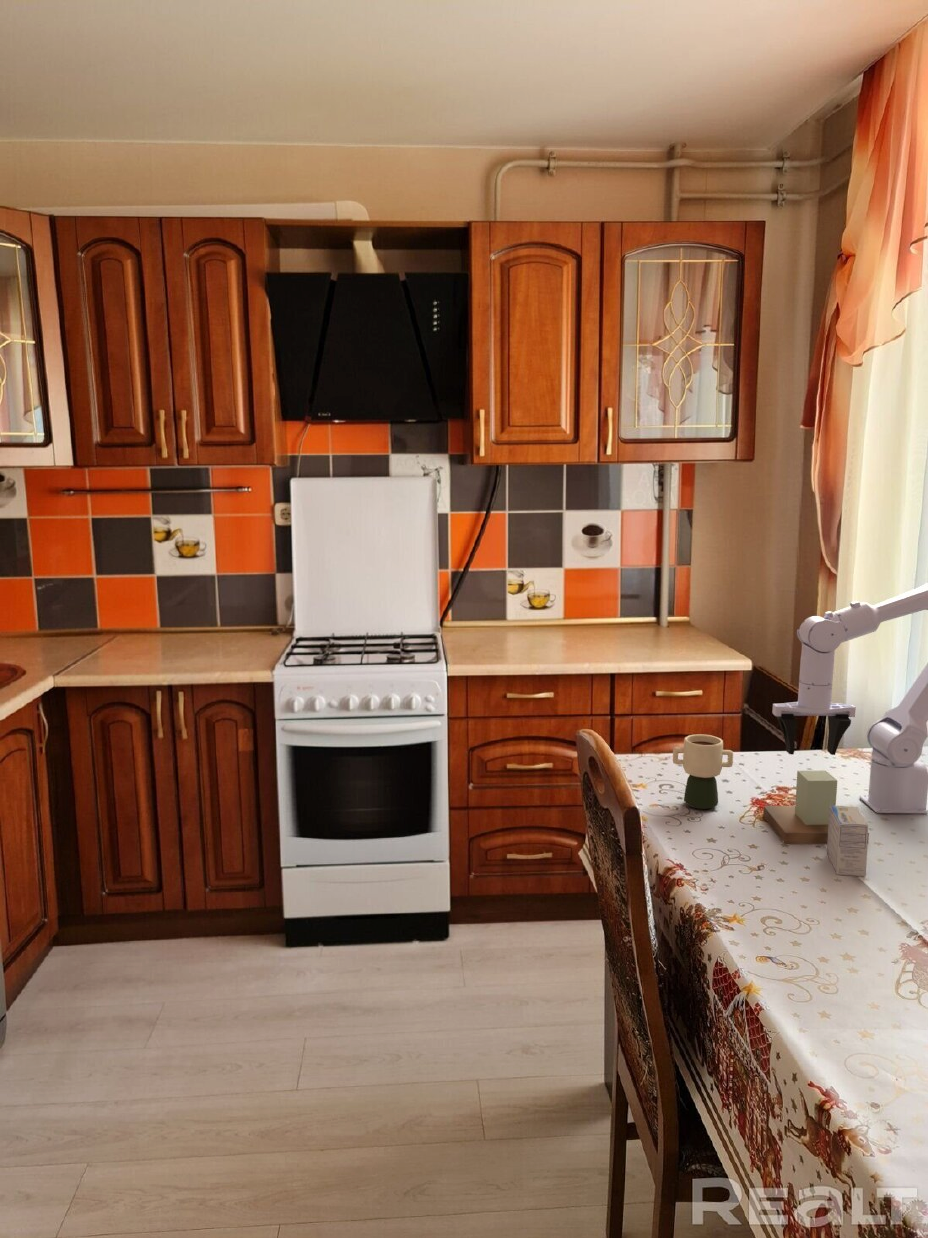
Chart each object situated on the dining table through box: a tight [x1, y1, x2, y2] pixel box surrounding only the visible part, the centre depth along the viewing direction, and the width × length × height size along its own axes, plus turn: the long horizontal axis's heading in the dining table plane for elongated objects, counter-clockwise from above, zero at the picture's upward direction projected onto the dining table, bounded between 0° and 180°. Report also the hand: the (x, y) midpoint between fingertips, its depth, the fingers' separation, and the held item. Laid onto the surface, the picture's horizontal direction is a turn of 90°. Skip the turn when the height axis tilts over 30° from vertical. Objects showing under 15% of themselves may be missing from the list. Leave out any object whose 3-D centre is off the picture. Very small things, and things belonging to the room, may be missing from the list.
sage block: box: [794, 770, 838, 825], centre depth 155 cm, size 5×5×8 cm
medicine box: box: [826, 805, 869, 877], centre depth 141 cm, size 8×4×9 cm, turn 168°
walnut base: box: [762, 805, 870, 845], centre depth 156 cm, size 14×12×2 cm
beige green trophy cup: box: [672, 733, 734, 810], centre depth 166 cm, size 11×7×13 cm, turn 78°
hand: (810, 753), depth 165 cm, fingers open, 7 cm apart
